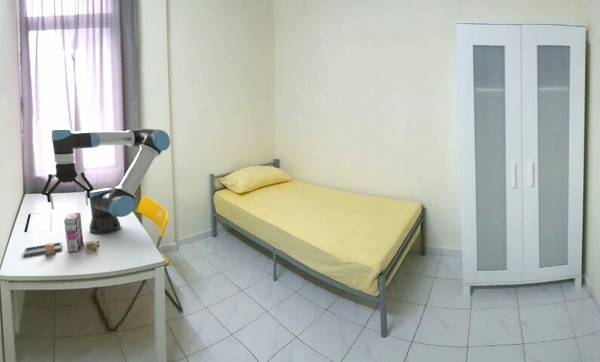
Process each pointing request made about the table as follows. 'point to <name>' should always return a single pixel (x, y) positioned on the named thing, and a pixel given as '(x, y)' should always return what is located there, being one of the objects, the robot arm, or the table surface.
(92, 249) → the oak cube
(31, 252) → the slate tray
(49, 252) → the brown small cube
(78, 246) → the candy bar box
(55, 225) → the table surface
